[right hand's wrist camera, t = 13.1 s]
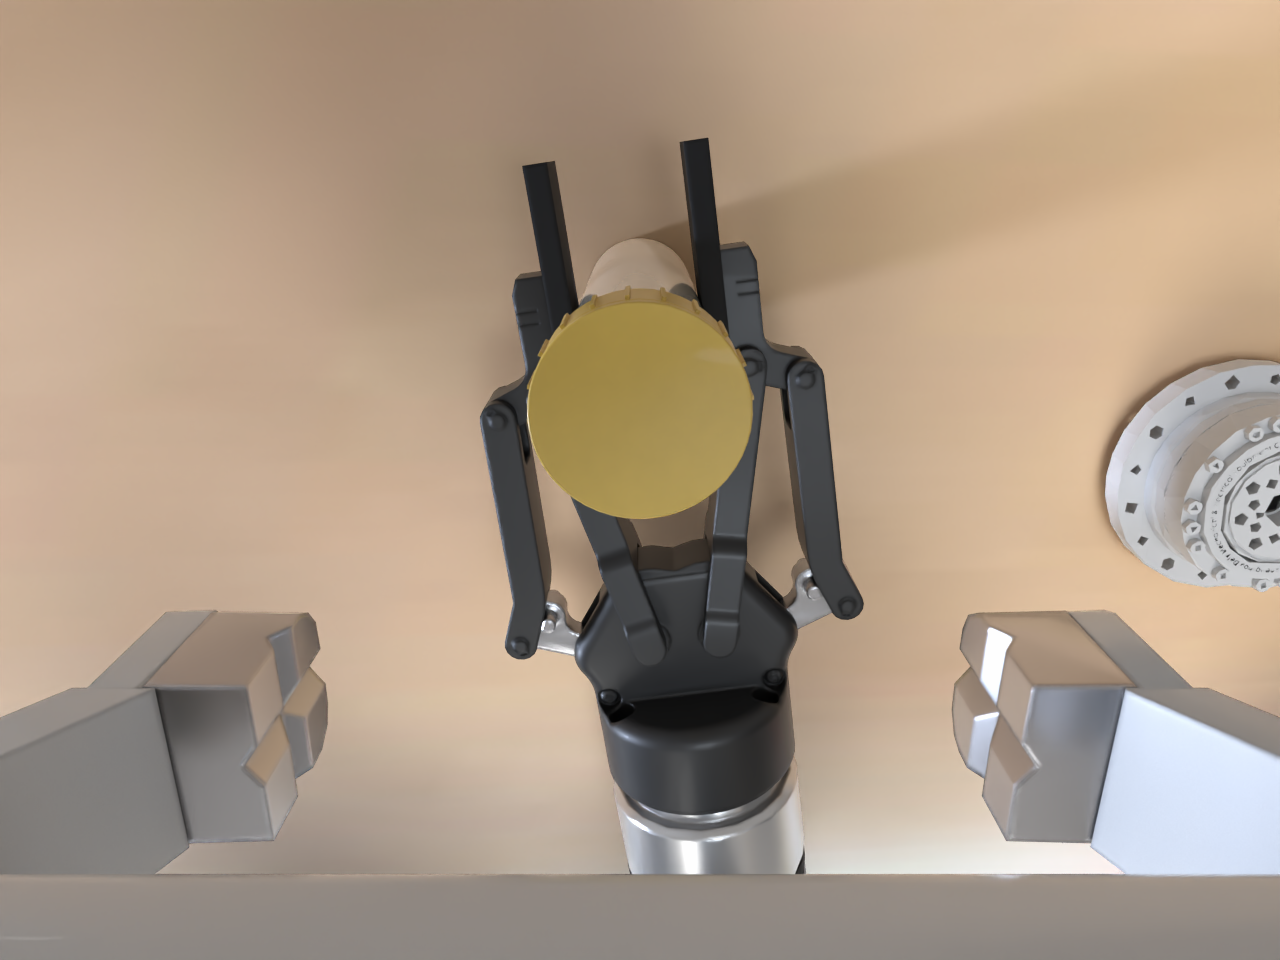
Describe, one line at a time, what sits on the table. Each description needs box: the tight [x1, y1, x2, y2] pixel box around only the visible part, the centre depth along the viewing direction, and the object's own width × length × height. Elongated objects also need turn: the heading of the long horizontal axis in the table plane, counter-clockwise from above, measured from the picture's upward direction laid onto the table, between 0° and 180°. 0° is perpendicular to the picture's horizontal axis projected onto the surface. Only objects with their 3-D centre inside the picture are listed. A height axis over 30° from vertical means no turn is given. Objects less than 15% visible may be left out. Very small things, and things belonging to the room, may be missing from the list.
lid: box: [527, 286, 754, 519], centre depth 20 cm, size 5×5×2 cm
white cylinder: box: [578, 238, 702, 308], centre depth 28 cm, size 4×4×18 cm
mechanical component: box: [1105, 359, 1280, 592], centre depth 37 cm, size 10×4×10 cm
